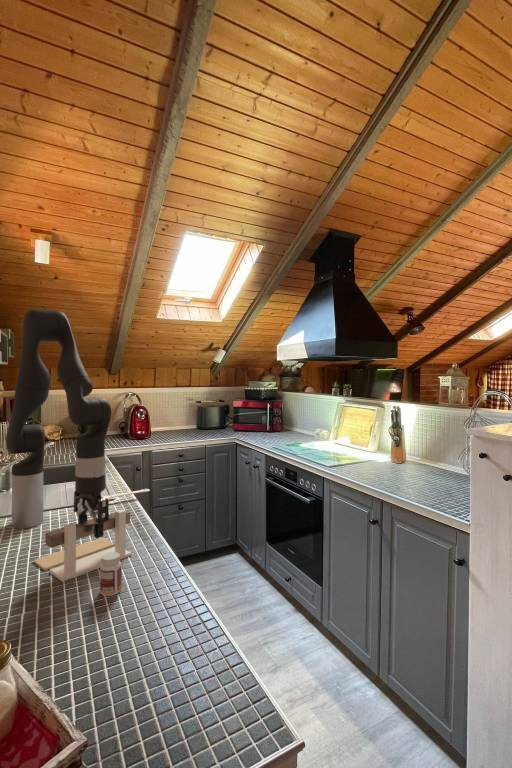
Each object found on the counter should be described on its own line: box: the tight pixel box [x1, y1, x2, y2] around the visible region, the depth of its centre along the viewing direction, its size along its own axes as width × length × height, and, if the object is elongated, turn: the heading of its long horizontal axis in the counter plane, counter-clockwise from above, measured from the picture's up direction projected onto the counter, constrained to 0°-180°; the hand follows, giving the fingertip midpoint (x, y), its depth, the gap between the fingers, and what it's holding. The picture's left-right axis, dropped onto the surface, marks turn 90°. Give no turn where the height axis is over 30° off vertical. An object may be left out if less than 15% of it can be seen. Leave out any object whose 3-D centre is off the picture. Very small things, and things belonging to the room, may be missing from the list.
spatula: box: [77, 488, 151, 507], centre depth 157 cm, size 28×6×3 cm, turn 128°
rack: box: [49, 508, 132, 583], centre depth 107 cm, size 7×19×13 cm, turn 140°
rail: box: [45, 509, 131, 548], centre depth 107 cm, size 3×22×3 cm, turn 140°
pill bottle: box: [99, 552, 123, 597], centre depth 94 cm, size 5×5×8 cm
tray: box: [33, 536, 115, 571], centre depth 113 cm, size 7×20×1 cm, turn 140°
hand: (90, 532), depth 107 cm, fingers open, 8 cm apart
